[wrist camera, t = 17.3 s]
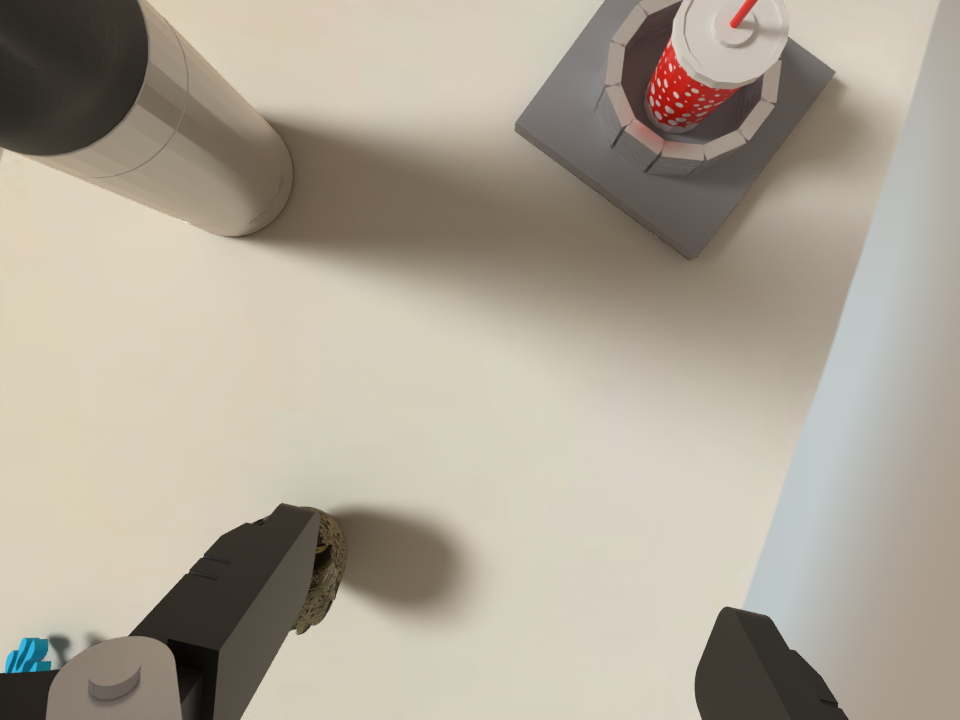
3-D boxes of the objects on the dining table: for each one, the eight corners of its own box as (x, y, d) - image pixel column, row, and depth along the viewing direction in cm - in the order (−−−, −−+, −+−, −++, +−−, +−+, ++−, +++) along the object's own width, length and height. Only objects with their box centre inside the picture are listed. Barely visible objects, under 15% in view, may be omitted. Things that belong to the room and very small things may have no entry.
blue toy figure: (31, 605, 40) (18, 743, 33) (119, 607, 44) (123, 730, 37) (-36, 706, 42) (-62, 857, 35) (55, 699, 46) (47, 833, 39)
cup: (361, 481, 41) (330, 513, 33) (371, 578, 41) (343, 633, 33) (263, 491, 41) (208, 525, 33) (274, 587, 42) (222, 644, 34)
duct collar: (565, 114, 39) (572, 91, 35) (659, -14, 38) (676, -50, 35) (690, 207, 39) (709, 193, 35) (785, 79, 38) (814, 53, 35)
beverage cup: (693, 40, 38) (809, -135, 24) (735, 117, 39) (875, -15, 25) (616, 84, 39) (688, -65, 25) (659, 160, 39) (754, 54, 25)
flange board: (514, 130, 40) (515, 122, 39) (646, -49, 40) (651, -64, 38) (689, 260, 40) (697, 256, 39) (822, 82, 40) (835, 71, 38)
